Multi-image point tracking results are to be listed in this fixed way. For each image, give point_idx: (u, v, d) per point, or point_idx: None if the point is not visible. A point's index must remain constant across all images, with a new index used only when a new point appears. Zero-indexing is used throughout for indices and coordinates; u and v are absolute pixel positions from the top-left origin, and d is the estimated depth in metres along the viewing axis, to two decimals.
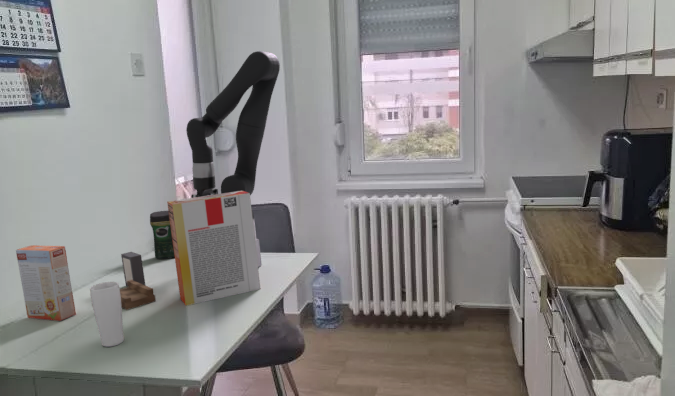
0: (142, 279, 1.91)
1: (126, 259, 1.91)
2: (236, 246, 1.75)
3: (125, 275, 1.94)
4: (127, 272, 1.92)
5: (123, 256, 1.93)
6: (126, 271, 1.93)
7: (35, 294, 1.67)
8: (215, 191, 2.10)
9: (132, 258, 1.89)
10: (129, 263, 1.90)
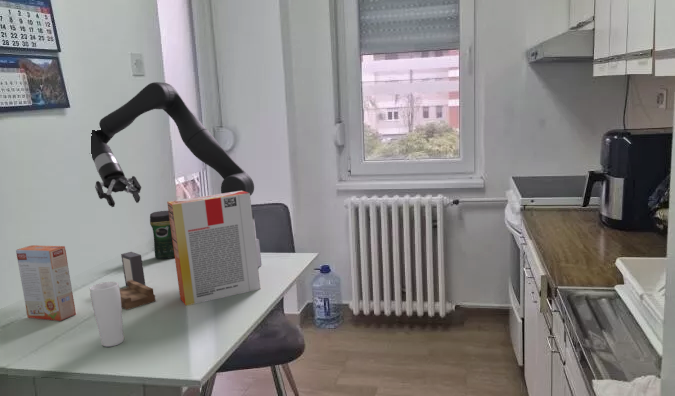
0: (142, 279, 1.91)
1: (126, 259, 1.91)
2: (236, 246, 1.75)
3: (125, 275, 1.94)
4: (127, 272, 1.92)
5: (123, 256, 1.93)
6: (126, 271, 1.93)
7: (35, 294, 1.67)
8: (132, 178, 2.05)
9: (132, 258, 1.89)
10: (129, 263, 1.90)
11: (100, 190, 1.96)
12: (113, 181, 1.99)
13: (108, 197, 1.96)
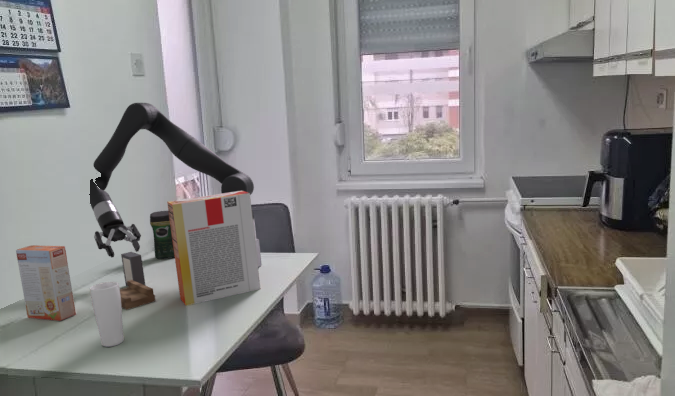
0: (142, 279, 1.91)
1: (126, 259, 1.91)
2: (236, 246, 1.75)
3: (125, 275, 1.94)
4: (127, 272, 1.92)
5: (123, 256, 1.93)
6: (126, 271, 1.93)
7: (35, 294, 1.67)
8: (131, 226, 2.03)
9: (132, 258, 1.89)
10: (129, 263, 1.90)
11: (99, 241, 1.93)
12: (112, 230, 1.97)
13: (107, 248, 1.94)
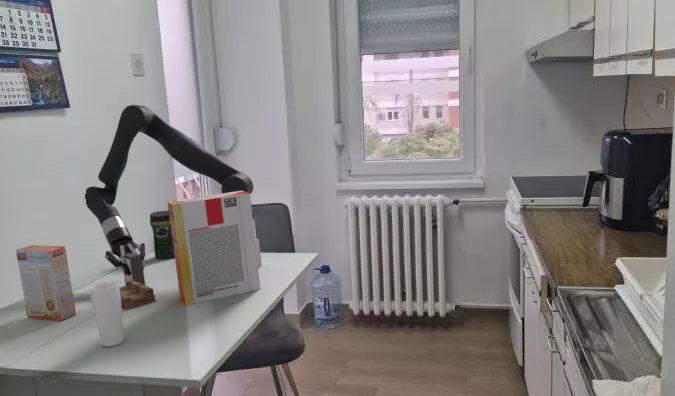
0: (142, 279, 1.91)
1: (126, 259, 1.91)
2: (236, 246, 1.75)
3: (125, 275, 1.94)
4: None
5: None
6: None
7: (35, 294, 1.67)
8: (141, 245, 1.99)
9: (132, 258, 1.89)
10: (129, 263, 1.90)
11: (115, 259, 1.90)
12: (121, 247, 1.94)
13: (124, 266, 1.91)
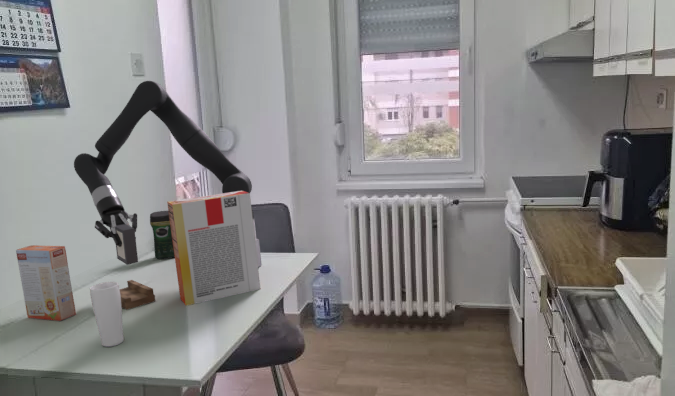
0: (135, 254, 1.81)
1: (119, 231, 1.80)
2: (236, 246, 1.75)
3: (117, 248, 1.84)
4: None
5: None
6: None
7: (35, 294, 1.67)
8: (133, 215, 1.88)
9: (125, 231, 1.78)
10: (122, 237, 1.79)
11: (105, 229, 1.80)
12: (112, 217, 1.83)
13: (115, 236, 1.81)
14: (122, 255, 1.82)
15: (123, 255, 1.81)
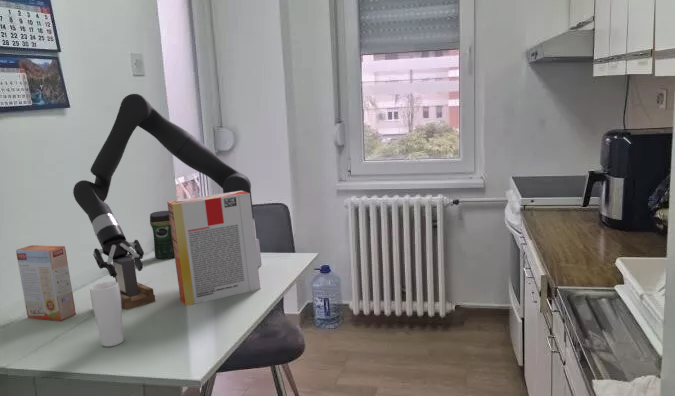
0: (135, 286, 1.77)
1: (118, 264, 1.76)
2: (236, 246, 1.75)
3: (117, 281, 1.80)
4: (119, 278, 1.78)
5: (114, 261, 1.78)
6: (118, 277, 1.79)
7: (35, 294, 1.67)
8: (134, 242, 1.84)
9: (124, 263, 1.74)
10: (121, 269, 1.75)
11: (100, 259, 1.74)
12: (113, 247, 1.78)
13: (109, 267, 1.75)
14: (122, 288, 1.78)
15: (123, 288, 1.77)
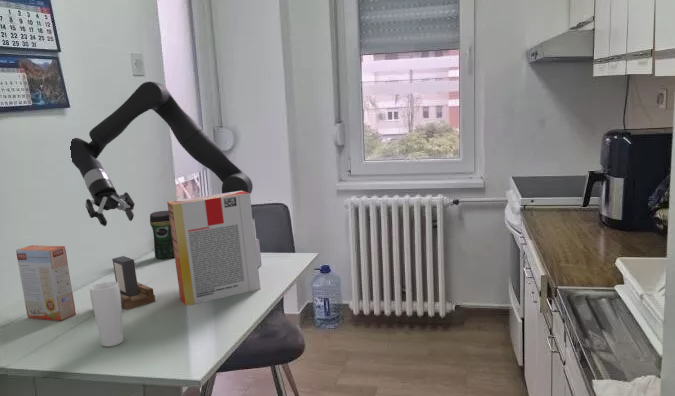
0: (135, 286, 1.77)
1: (118, 264, 1.76)
2: (236, 246, 1.75)
3: (117, 281, 1.80)
4: (119, 278, 1.78)
5: (114, 261, 1.78)
6: (118, 277, 1.79)
7: (35, 294, 1.67)
8: (124, 195, 1.94)
9: (124, 263, 1.74)
10: (121, 269, 1.75)
11: (91, 208, 1.84)
12: (104, 198, 1.88)
13: (99, 216, 1.84)
14: (122, 288, 1.78)
15: (123, 288, 1.77)
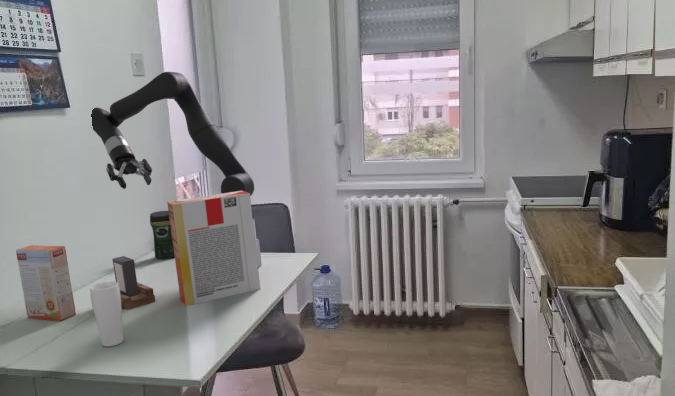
0: (135, 286, 1.77)
1: (118, 264, 1.76)
2: (236, 246, 1.75)
3: (117, 281, 1.80)
4: (119, 278, 1.78)
5: (114, 261, 1.78)
6: (118, 277, 1.79)
7: (35, 294, 1.67)
8: (143, 161, 2.05)
9: (124, 263, 1.74)
10: (121, 269, 1.75)
11: (111, 172, 1.95)
12: (124, 163, 1.99)
13: (119, 179, 1.95)
14: (122, 288, 1.78)
15: (123, 288, 1.77)
